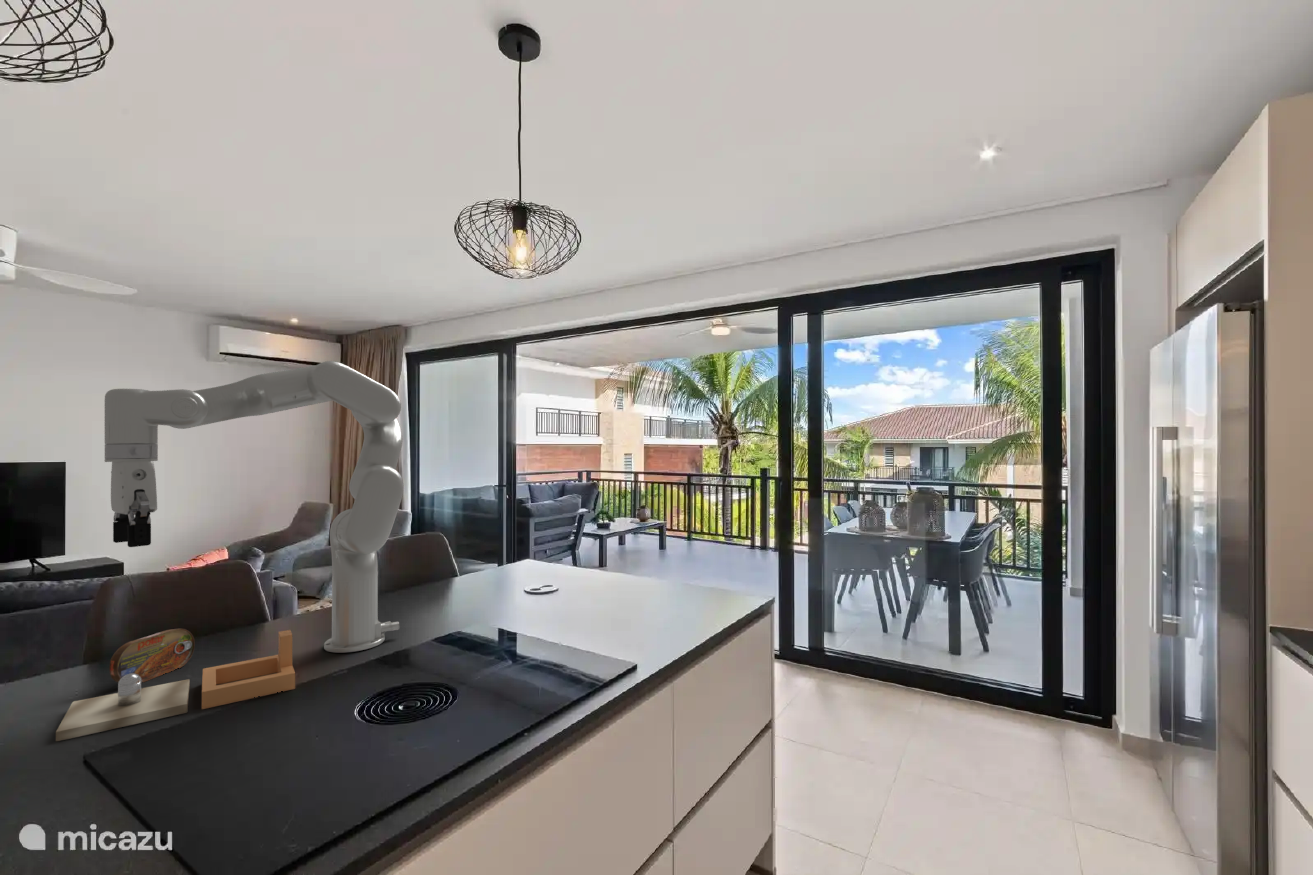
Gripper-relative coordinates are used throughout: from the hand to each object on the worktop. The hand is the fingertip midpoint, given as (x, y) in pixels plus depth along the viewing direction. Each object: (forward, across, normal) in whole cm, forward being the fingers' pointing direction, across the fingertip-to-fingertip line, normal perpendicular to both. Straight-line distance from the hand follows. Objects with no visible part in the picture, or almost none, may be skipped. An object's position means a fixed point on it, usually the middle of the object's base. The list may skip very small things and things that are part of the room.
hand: (131, 543), depth 110 cm
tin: (+28, +7, -5) cm, 29 cm away
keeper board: (+28, -11, +3) cm, 30 cm away
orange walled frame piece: (+28, -16, -14) cm, 35 cm away
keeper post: (+27, -11, +3) cm, 29 cm away
